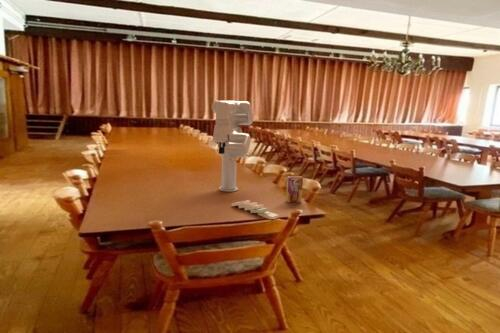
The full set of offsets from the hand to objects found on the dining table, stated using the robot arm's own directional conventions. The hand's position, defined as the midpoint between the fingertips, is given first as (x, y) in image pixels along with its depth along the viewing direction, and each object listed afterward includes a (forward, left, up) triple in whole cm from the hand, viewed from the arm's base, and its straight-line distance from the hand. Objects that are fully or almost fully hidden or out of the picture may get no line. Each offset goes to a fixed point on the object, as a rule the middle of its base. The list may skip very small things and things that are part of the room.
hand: (221, 153), depth 205 cm
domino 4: (+23, +29, -26) cm, 45 cm away
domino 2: (+15, +17, -26) cm, 35 cm away
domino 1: (+13, +12, -26) cm, 32 cm away
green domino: (+21, +25, -26) cm, 42 cm away
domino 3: (+18, +21, -26) cm, 38 cm away
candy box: (-6, +44, -27) cm, 52 cm away
